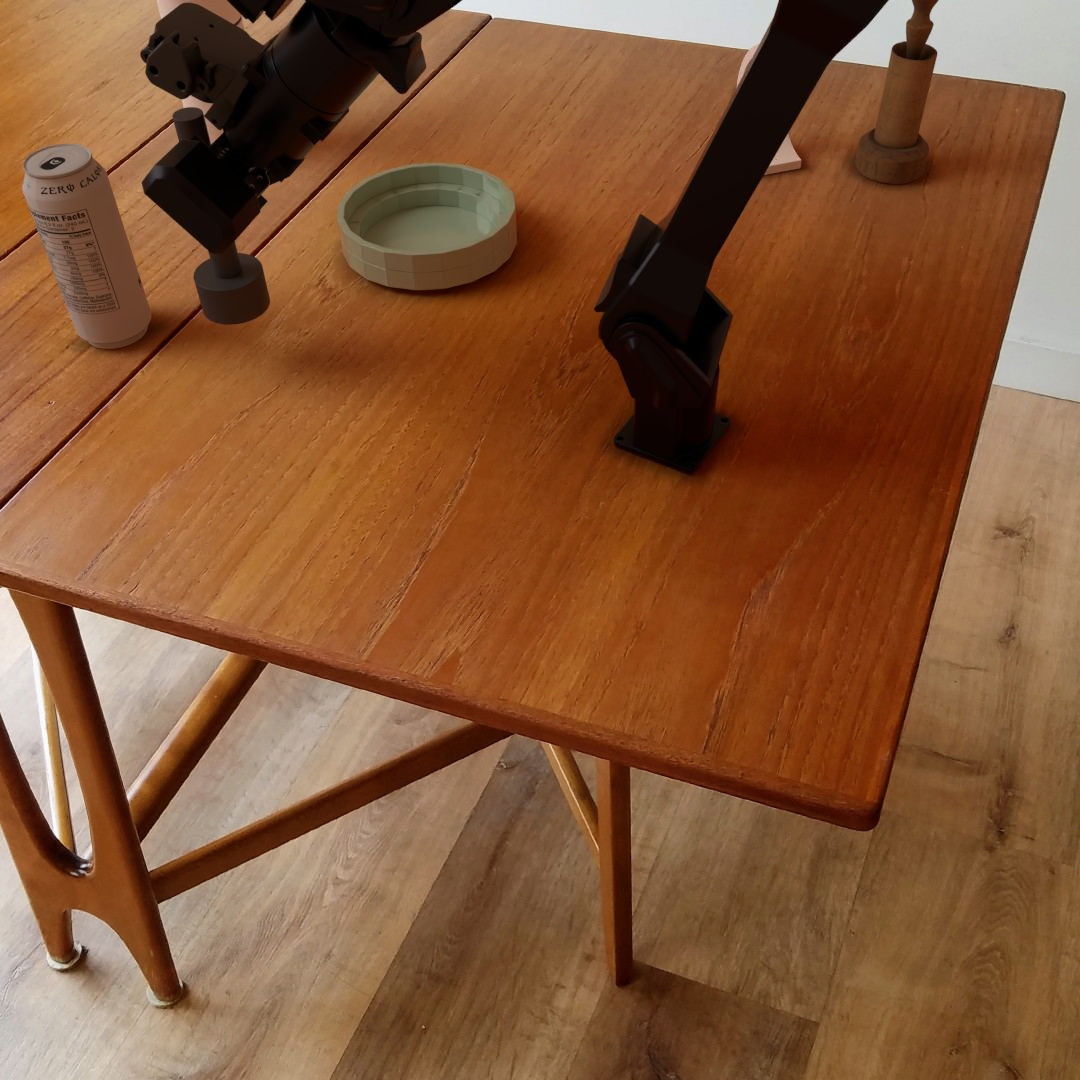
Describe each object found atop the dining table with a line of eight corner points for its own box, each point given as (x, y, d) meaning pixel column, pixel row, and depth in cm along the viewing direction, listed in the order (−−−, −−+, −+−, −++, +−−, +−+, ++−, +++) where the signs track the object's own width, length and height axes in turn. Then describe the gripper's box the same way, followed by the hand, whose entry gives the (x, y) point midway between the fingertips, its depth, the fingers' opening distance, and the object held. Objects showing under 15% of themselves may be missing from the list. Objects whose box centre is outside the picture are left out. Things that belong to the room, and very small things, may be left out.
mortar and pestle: (925, 187, 107) (973, -15, 94) (853, 181, 108) (891, -20, 95) (923, 153, 111) (968, -45, 98) (854, 148, 112) (891, -49, 99)
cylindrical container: (274, 157, 114) (218, -124, 96) (202, 172, 112) (131, -112, 94) (259, 126, 118) (202, -147, 100) (189, 140, 117) (119, -136, 99)
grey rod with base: (222, 333, 84) (168, 139, 73) (191, 303, 87) (136, 112, 76) (282, 307, 86) (239, 115, 75) (250, 279, 89) (204, 89, 78)
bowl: (452, 315, 94) (448, 273, 91) (308, 265, 100) (300, 223, 97) (549, 229, 103) (548, 188, 100) (411, 187, 109) (407, 148, 106)
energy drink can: (170, 320, 95) (117, 148, 84) (121, 360, 91) (59, 186, 80) (113, 302, 97) (54, 133, 86) (63, 341, 93) (-5, 169, 82)
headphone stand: (756, 176, 109) (771, 49, 100) (730, 147, 113) (742, 23, 104) (800, 168, 110) (819, 41, 101) (773, 140, 114) (789, 15, 105)
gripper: (277, -84, 74) (169, 69, 85) (126, 33, 62) (21, 194, 72) (404, 50, 78) (286, 180, 89) (286, 184, 66) (165, 317, 76)
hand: (196, 212), depth 81 cm, fingers closed on grey rod with base
